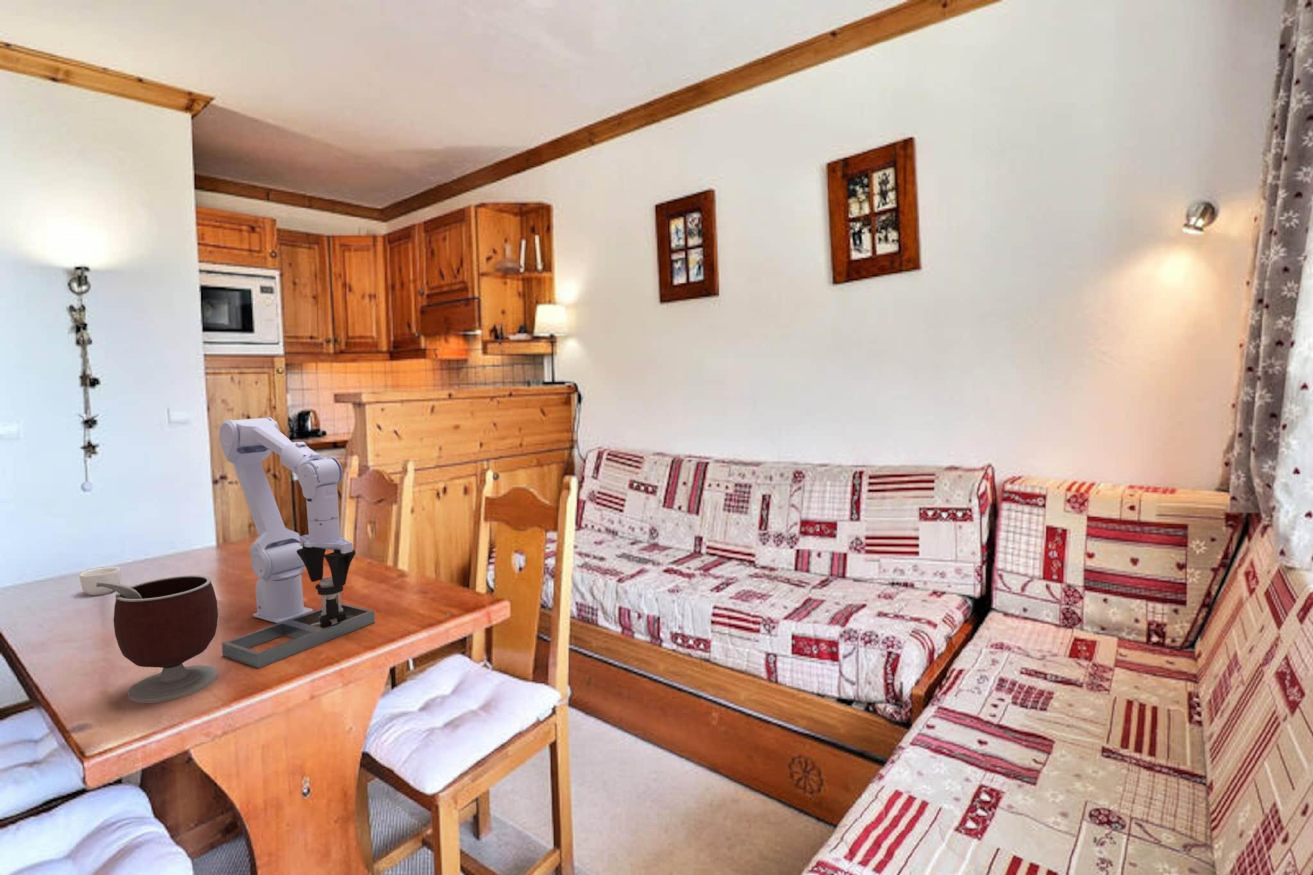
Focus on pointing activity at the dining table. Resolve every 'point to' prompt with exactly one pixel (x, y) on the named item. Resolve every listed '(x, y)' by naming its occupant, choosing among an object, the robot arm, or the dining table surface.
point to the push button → (330, 603)
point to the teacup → (99, 580)
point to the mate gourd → (166, 633)
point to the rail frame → (294, 636)
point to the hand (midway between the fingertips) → (328, 583)
